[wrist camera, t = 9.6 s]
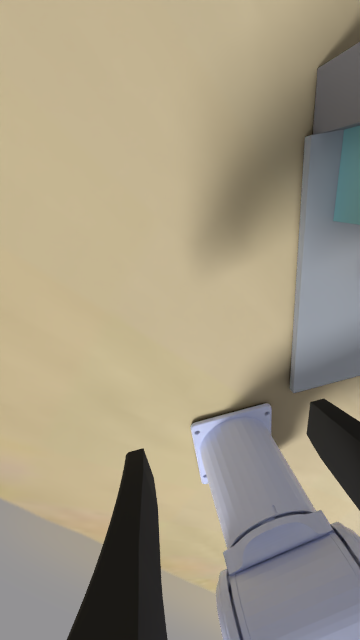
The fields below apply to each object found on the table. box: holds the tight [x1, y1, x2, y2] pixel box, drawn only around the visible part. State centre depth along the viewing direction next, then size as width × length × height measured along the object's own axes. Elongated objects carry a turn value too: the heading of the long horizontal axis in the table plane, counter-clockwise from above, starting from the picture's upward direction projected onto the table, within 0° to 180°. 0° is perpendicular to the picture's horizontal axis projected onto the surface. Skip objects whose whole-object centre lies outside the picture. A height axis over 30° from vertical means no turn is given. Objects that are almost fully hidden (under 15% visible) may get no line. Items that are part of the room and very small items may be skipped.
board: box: [290, 129, 360, 393], centre depth 20 cm, size 20×10×1 cm, turn 9°
